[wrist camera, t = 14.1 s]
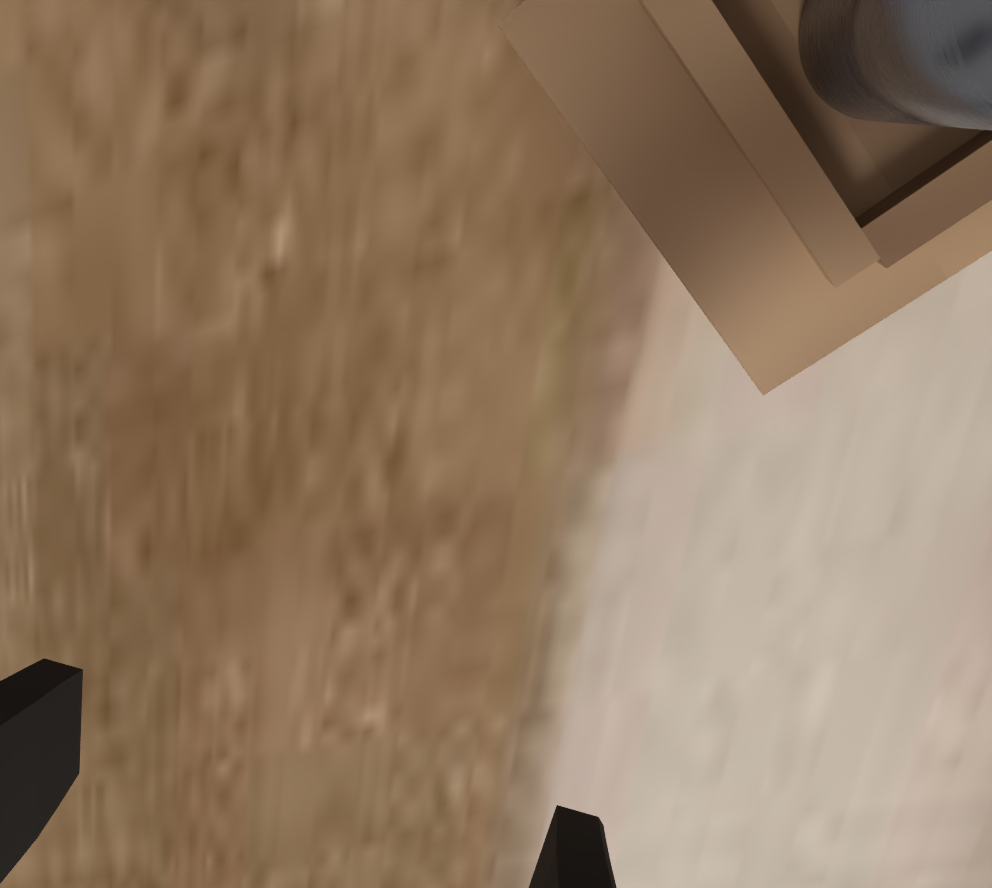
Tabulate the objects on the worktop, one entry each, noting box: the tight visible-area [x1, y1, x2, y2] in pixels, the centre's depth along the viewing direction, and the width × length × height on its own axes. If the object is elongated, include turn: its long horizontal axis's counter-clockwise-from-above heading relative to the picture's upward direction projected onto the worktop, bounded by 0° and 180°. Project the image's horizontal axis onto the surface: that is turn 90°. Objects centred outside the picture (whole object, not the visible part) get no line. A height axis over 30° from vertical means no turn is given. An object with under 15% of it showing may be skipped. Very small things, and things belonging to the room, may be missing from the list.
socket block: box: [497, 0, 992, 395], centre depth 15 cm, size 8×10×5 cm
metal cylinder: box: [798, 0, 992, 130], centre depth 10 cm, size 3×3×7 cm
